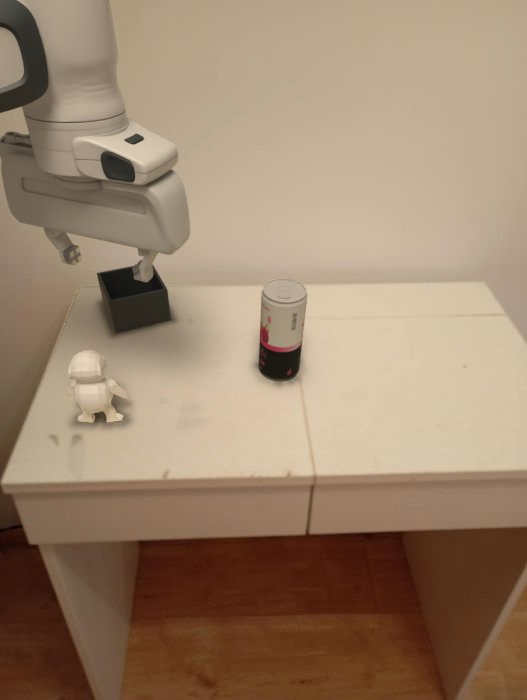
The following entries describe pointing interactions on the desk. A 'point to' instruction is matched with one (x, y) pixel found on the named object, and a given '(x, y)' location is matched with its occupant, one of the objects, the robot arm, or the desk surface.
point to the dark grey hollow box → (133, 299)
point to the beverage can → (281, 327)
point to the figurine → (93, 386)
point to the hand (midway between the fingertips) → (107, 270)
